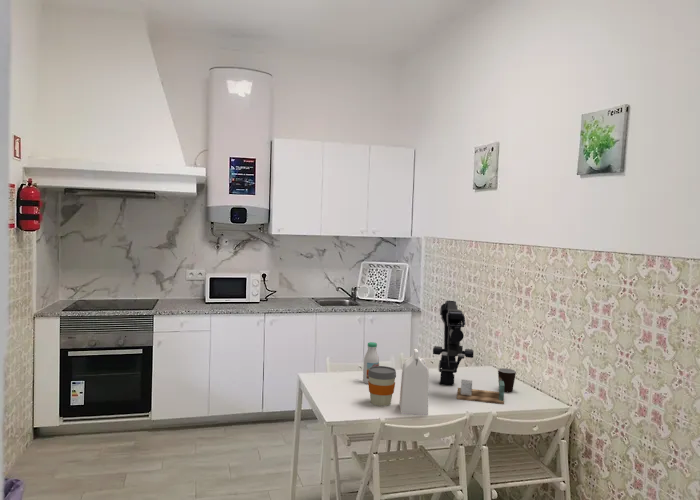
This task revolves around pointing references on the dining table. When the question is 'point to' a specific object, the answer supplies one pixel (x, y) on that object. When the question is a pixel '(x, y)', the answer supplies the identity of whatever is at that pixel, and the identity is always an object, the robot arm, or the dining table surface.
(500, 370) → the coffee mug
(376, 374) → the reusable coffee cup
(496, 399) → the rail board
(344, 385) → the dining table surface
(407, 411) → the milk
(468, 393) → the metal slider block
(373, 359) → the milk bottle
